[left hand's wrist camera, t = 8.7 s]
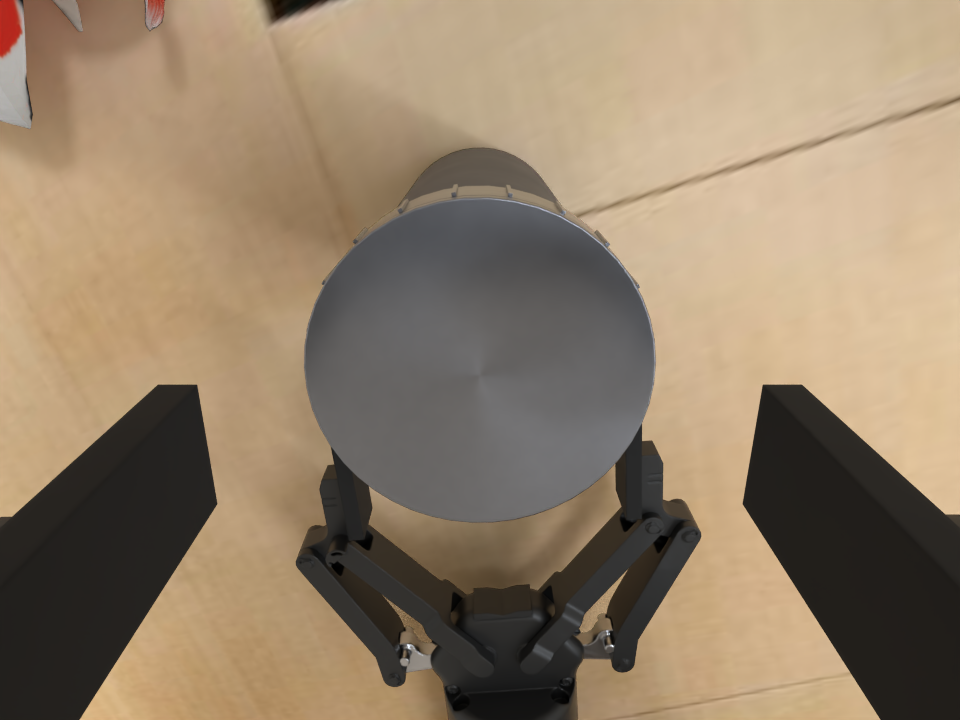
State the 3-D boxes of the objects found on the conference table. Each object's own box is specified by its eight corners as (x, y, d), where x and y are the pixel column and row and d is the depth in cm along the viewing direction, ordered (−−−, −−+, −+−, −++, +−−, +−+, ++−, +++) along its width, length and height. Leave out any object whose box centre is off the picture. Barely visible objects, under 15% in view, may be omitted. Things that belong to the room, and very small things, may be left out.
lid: (572, 516, 21) (582, 560, 19) (289, 437, 20) (268, 476, 18) (692, 245, 18) (718, 263, 16) (363, 136, 17) (348, 141, 15)
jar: (527, 321, 37) (572, 534, 19) (385, 277, 36) (291, 458, 18) (580, 176, 34) (690, 269, 16) (426, 125, 33) (365, 162, 15)
